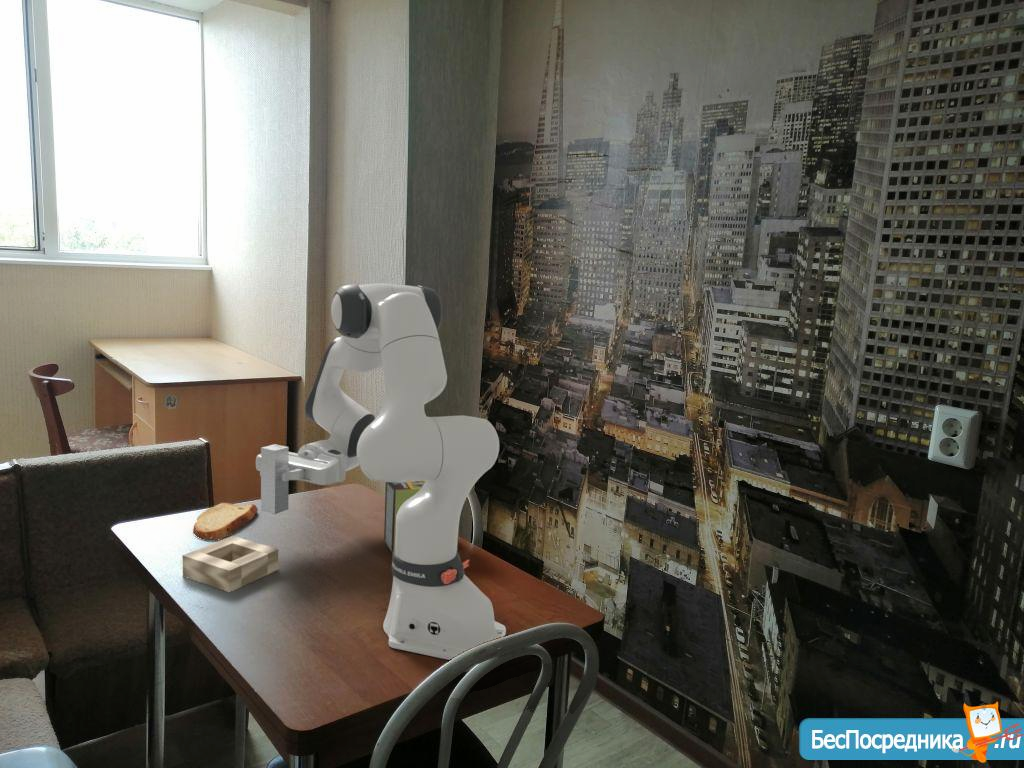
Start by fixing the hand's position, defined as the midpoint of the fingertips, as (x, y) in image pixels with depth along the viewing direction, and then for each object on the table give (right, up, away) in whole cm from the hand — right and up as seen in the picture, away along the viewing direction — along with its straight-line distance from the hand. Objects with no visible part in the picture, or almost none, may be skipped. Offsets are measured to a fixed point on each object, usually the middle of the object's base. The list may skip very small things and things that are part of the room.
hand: (271, 475), depth 160 cm
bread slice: (-17, -15, +20) cm, 30 cm away
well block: (-6, -19, -7) cm, 21 cm away
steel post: (0, -8, +2) cm, 8 cm away
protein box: (+30, -18, +14) cm, 38 cm away
